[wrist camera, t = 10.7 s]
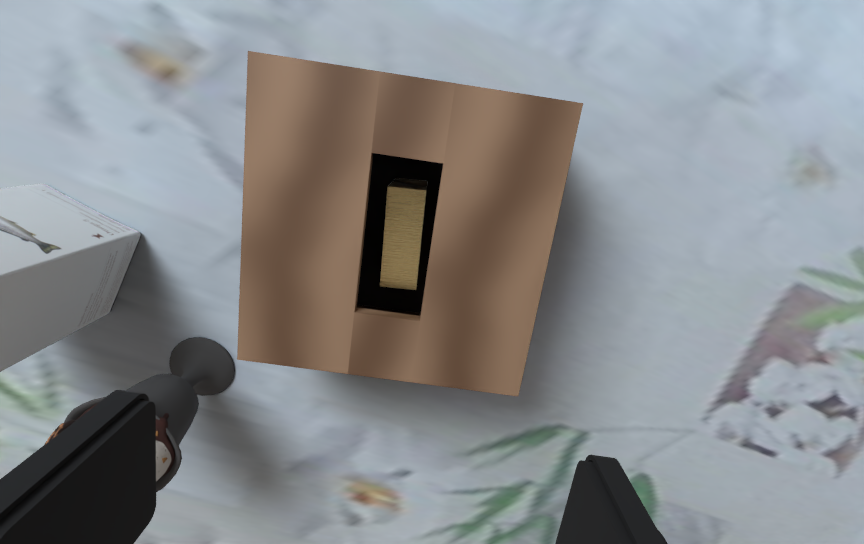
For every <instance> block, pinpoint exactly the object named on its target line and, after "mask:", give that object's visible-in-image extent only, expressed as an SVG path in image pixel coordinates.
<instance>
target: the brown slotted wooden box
mask: <svg viewBox="0 0 864 544" xmlns="http://www.w3.org/2000/svg"><path fill="white" fill-rule="evenodd" d="M582 106H583V103H577V102H571V101H565V100H558V99H552V98H545V97H539V96H533V95H526V94H520V93H513V92H507V91H501V90H494V89H488V88H481V87H475V86H469V85H462V84H456V83H449V82H443V81H437V80H430V79H424V78H417V77H411V76H405V75H398V74H392V73H385V72H379V71H373V70H366V69H360V68H354V67H347V66H341V65H334V64H328V63H322V62H315V61H309V60H302V59H296V58H290V57H283V56H277V55H270V54H264V53H258V52H251V51H248V67H247V96H246V125H245V153H244V182H243V211H242V240H241V269H240V298H239V327H238V356H237V360H245V361H253V362H260V363H268V364H276V365H283V366H291V367H298V368H306V369H314V370H321V371H329V372H336V373H344V374H352V375H359V376H367V377H375V378H382V379H390V380H397V381H405V382H413V383H420V384H428V385H435V386H443V387H451V388H458V389H466V390H474V391H481V392H489V393H496V394H504V395H512V396H518V395H519V391H520V386H521V382H522V377H523V373H524V368H525V363H526V359H527V354H528V350H529V345H530V341H531V336H532V332H533V327H534V323H535V318H536V314H537V309H538V305H539V300H540V296H541V291H542V287H543V282H544V278H545V273H546V269H547V264H548V259H549V255H550V250H551V246H552V241H553V237H554V232H555V228H556V223H557V219H558V214H559V210H560V205H561V201H562V196H563V192H564V187H565V183H566V178H567V174H568V169H569V165H570V160H571V156H572V151H573V146H574V142H575V137H576V133H577V128H578V124H579V119H580V115H581V110H582ZM373 153H377V154H383V155H390V156H397V157H403V158H410V159H417V160H423V161H430V162H437V163H443V167H442V174H441V180H440V187H439V194H438V201H437V207H436V214H435V221H434V228H433V234H432V241H431V248H430V254H429V261H428V268H427V275H426V281H425V288H424V295H423V302H422V308H421V313H419V312H412V311H405V310H397V309H390V308H383V307H375V306H368V305H361V304H357V299H358V290H359V280H360V271H361V262H362V253H363V243H364V234H365V225H366V216H367V206H368V197H369V188H370V178H371V169H372V160H373Z"/></svg>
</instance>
